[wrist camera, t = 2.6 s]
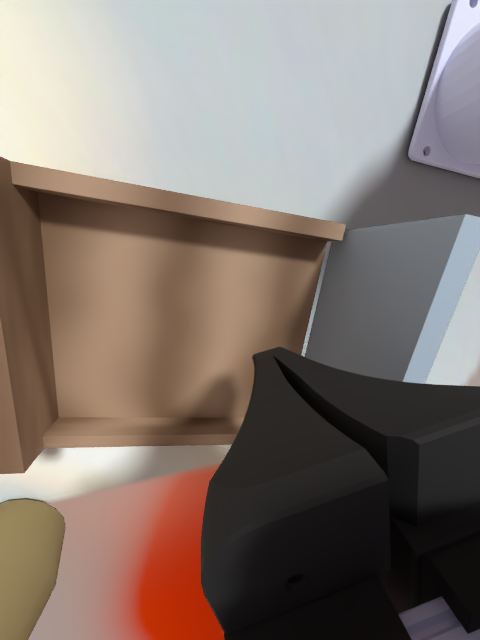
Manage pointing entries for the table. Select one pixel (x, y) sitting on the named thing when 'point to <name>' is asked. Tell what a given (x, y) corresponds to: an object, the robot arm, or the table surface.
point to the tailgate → (392, 296)
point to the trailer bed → (139, 310)
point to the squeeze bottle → (27, 563)
